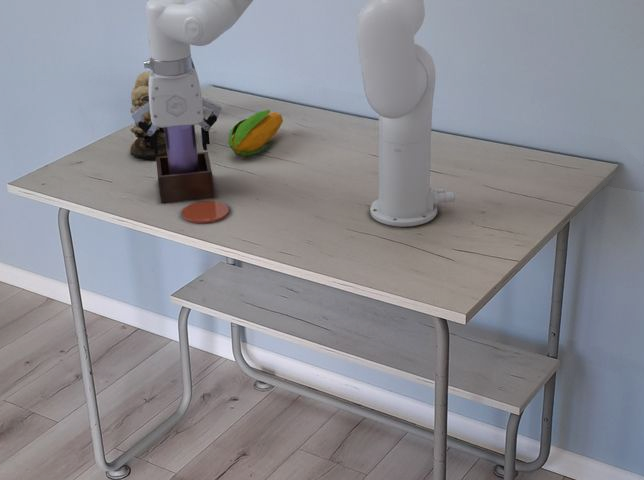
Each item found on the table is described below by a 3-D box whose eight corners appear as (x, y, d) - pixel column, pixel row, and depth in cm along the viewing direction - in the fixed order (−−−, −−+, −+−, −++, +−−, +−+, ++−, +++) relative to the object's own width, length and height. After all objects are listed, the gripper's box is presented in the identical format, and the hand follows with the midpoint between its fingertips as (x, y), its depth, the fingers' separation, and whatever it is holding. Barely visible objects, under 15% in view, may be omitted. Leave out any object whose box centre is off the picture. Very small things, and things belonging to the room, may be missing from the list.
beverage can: (196, 196, 204) (188, 124, 196) (167, 195, 206) (158, 123, 197) (204, 184, 209) (197, 113, 201) (176, 182, 210) (168, 112, 202)
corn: (218, 126, 215) (264, 95, 229) (219, 159, 219) (264, 127, 234) (249, 133, 212) (293, 101, 227) (249, 167, 216) (293, 133, 231)
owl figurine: (163, 166, 218) (153, 87, 209) (116, 159, 222) (105, 82, 213) (204, 135, 231) (197, 61, 222) (159, 129, 236) (150, 56, 226)
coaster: (226, 201, 202) (226, 198, 202) (230, 220, 194) (230, 218, 194) (180, 205, 201) (180, 203, 201) (183, 225, 194) (183, 223, 193)
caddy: (210, 176, 212) (207, 151, 209) (214, 197, 204) (211, 171, 201) (159, 181, 211) (155, 156, 208) (161, 203, 202) (157, 177, 199)
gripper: (126, 75, 189) (137, 161, 199) (219, 67, 191) (225, 153, 201) (125, 62, 196) (136, 147, 205) (215, 55, 197) (222, 139, 207)
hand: (180, 150), depth 203 cm, fingers open, 9 cm apart
